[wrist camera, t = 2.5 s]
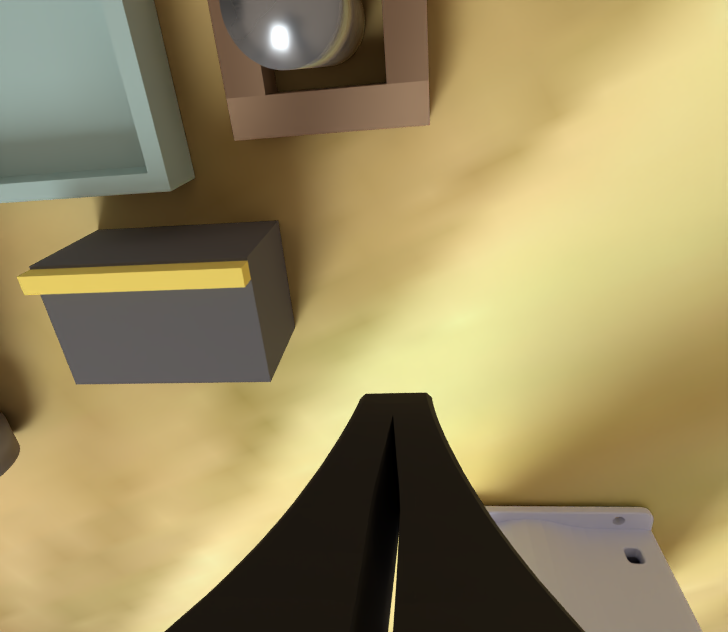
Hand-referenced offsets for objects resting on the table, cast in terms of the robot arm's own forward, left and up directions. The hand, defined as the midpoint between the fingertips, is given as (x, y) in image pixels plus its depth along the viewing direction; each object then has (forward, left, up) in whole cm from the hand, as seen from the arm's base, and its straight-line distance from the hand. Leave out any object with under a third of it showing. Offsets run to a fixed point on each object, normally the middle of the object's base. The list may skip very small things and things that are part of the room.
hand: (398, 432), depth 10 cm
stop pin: (+2, -8, -9) cm, 12 cm away
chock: (+8, 0, -10) cm, 12 cm away
